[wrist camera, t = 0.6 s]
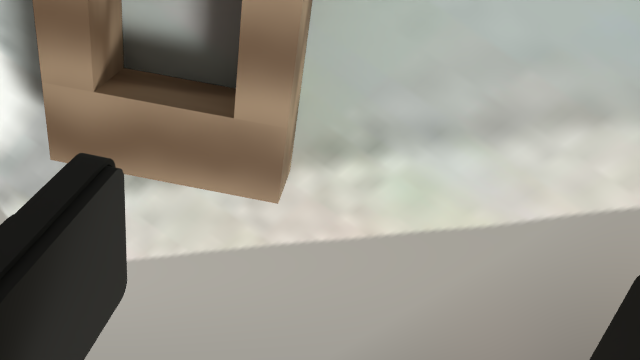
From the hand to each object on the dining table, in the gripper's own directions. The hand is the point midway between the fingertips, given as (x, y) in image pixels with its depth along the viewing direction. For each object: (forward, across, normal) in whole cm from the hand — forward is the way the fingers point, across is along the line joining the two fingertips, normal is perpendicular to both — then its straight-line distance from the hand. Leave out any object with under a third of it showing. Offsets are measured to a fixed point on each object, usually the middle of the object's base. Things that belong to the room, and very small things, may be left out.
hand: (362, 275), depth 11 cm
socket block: (+24, +11, +4) cm, 27 cm away
